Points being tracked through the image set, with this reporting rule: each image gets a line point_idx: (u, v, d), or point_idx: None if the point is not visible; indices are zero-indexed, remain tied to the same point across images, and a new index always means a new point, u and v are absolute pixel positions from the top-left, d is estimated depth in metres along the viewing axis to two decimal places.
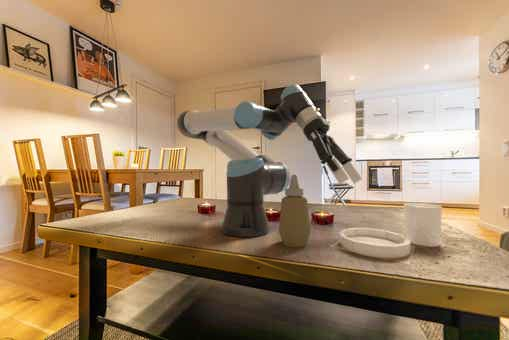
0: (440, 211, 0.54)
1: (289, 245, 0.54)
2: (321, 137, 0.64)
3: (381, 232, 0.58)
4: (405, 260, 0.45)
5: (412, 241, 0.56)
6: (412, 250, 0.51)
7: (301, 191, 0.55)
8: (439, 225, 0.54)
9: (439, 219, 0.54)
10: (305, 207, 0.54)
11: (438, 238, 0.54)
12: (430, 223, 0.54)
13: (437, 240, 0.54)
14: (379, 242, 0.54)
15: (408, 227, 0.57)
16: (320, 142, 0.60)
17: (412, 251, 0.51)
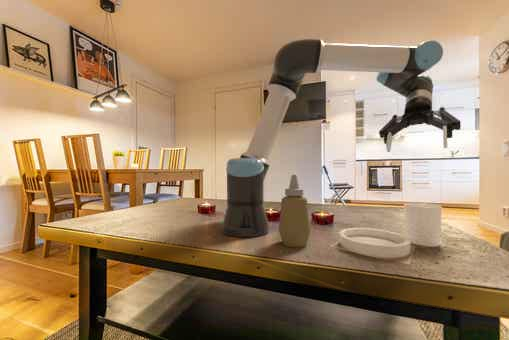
0: (440, 211, 0.54)
1: (289, 245, 0.54)
2: None
3: (381, 232, 0.58)
4: (405, 260, 0.45)
5: (412, 241, 0.56)
6: (412, 250, 0.51)
7: (301, 191, 0.55)
8: (439, 225, 0.54)
9: (439, 219, 0.54)
10: (305, 207, 0.54)
11: (438, 238, 0.54)
12: (430, 223, 0.54)
13: (437, 240, 0.54)
14: (379, 242, 0.54)
15: (408, 227, 0.57)
16: None
17: (412, 251, 0.51)
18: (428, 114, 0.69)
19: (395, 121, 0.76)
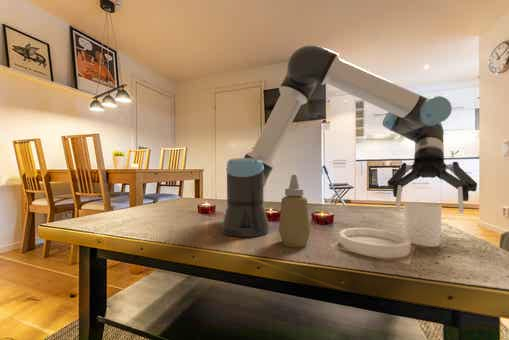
0: (440, 211, 0.54)
1: (289, 245, 0.54)
2: None
3: (381, 232, 0.58)
4: (405, 260, 0.45)
5: (412, 241, 0.56)
6: (412, 250, 0.51)
7: (301, 191, 0.55)
8: (439, 225, 0.54)
9: (439, 219, 0.54)
10: (305, 207, 0.54)
11: (438, 238, 0.54)
12: (430, 223, 0.54)
13: (437, 240, 0.54)
14: (379, 242, 0.54)
15: (408, 227, 0.57)
16: None
17: (412, 251, 0.51)
18: (441, 169, 0.64)
19: (404, 170, 0.71)
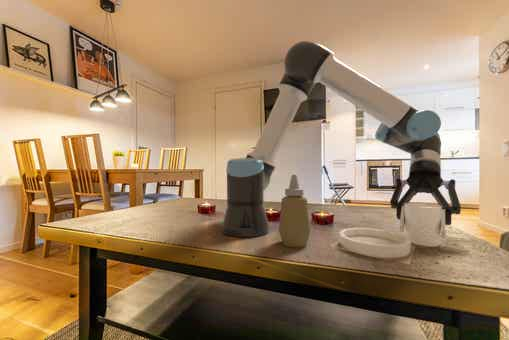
0: (440, 211, 0.54)
1: (289, 245, 0.54)
2: (439, 186, 0.62)
3: (381, 232, 0.58)
4: (405, 260, 0.45)
5: (412, 241, 0.56)
6: (412, 250, 0.51)
7: (301, 191, 0.55)
8: (439, 225, 0.54)
9: (439, 219, 0.54)
10: (305, 207, 0.54)
11: (438, 238, 0.54)
12: (430, 223, 0.54)
13: (437, 240, 0.54)
14: (379, 242, 0.54)
15: (408, 227, 0.57)
16: None
17: (412, 251, 0.51)
18: (434, 186, 0.61)
19: (401, 186, 0.67)
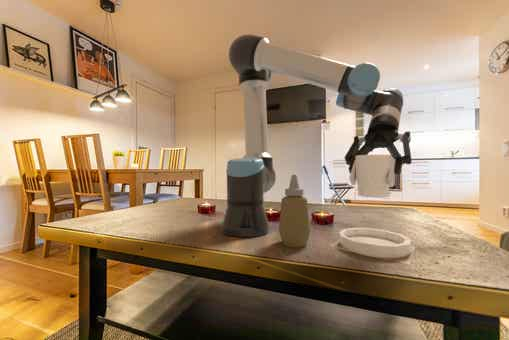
0: (389, 159, 0.51)
1: (289, 245, 0.54)
2: (395, 140, 0.59)
3: (381, 232, 0.58)
4: (405, 260, 0.45)
5: (361, 193, 0.53)
6: (412, 250, 0.51)
7: (301, 191, 0.55)
8: (388, 174, 0.51)
9: (388, 167, 0.51)
10: (305, 207, 0.54)
11: (387, 188, 0.51)
12: (378, 171, 0.51)
13: (385, 190, 0.51)
14: (379, 242, 0.54)
15: (358, 179, 0.54)
16: None
17: (412, 251, 0.51)
18: (388, 138, 0.57)
19: (358, 143, 0.63)
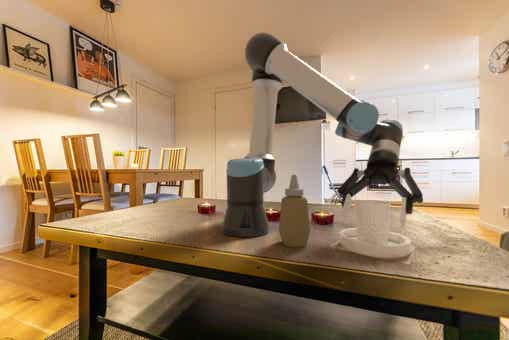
0: (387, 208, 0.51)
1: (289, 245, 0.54)
2: None
3: None
4: (405, 260, 0.45)
5: (360, 240, 0.53)
6: (412, 250, 0.51)
7: (301, 191, 0.55)
8: (386, 223, 0.51)
9: (386, 217, 0.51)
10: (305, 207, 0.54)
11: (386, 237, 0.51)
12: (376, 221, 0.50)
13: (384, 239, 0.51)
14: None
15: (357, 225, 0.54)
16: None
17: (412, 251, 0.51)
18: (390, 175, 0.57)
19: (356, 177, 0.64)
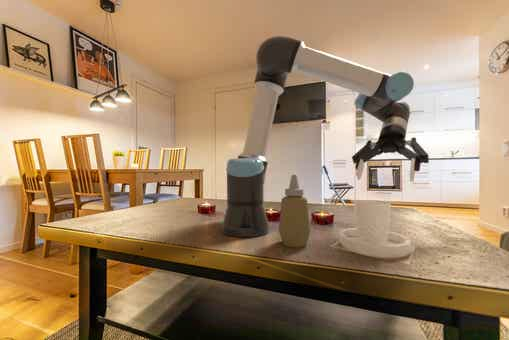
0: (387, 208, 0.51)
1: (289, 245, 0.54)
2: None
3: None
4: (405, 260, 0.45)
5: (360, 240, 0.53)
6: (412, 250, 0.51)
7: (301, 191, 0.55)
8: (386, 223, 0.51)
9: (386, 217, 0.51)
10: (305, 207, 0.54)
11: (386, 237, 0.51)
12: (376, 221, 0.51)
13: (384, 239, 0.51)
14: None
15: (357, 225, 0.54)
16: None
17: (412, 251, 0.51)
18: (400, 144, 0.68)
19: (369, 147, 0.75)
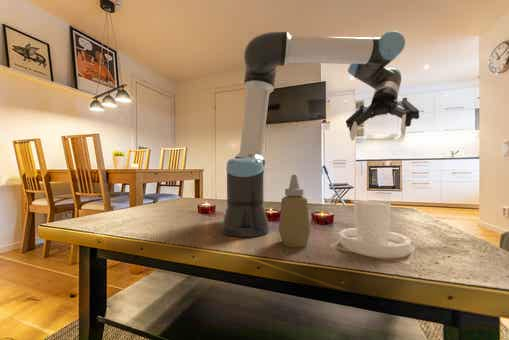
0: (387, 208, 0.51)
1: (289, 245, 0.54)
2: None
3: None
4: (405, 260, 0.45)
5: (360, 240, 0.53)
6: (412, 250, 0.51)
7: (301, 191, 0.55)
8: (386, 223, 0.51)
9: (386, 217, 0.51)
10: (305, 207, 0.54)
11: (386, 237, 0.51)
12: (376, 221, 0.51)
13: (384, 239, 0.51)
14: None
15: (357, 225, 0.54)
16: None
17: (412, 251, 0.51)
18: (391, 104, 0.70)
19: (362, 111, 0.77)
